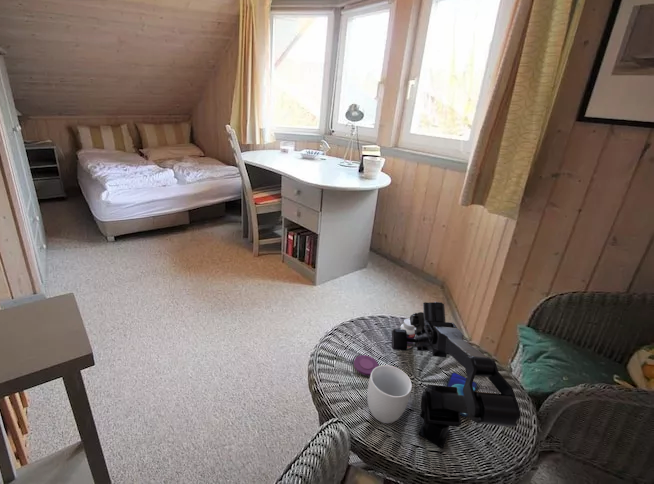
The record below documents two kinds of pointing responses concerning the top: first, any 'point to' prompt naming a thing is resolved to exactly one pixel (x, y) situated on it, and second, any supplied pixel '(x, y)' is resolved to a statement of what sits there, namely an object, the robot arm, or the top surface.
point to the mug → (388, 393)
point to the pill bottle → (408, 330)
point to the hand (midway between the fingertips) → (414, 343)
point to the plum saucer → (365, 364)
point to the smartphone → (459, 385)
